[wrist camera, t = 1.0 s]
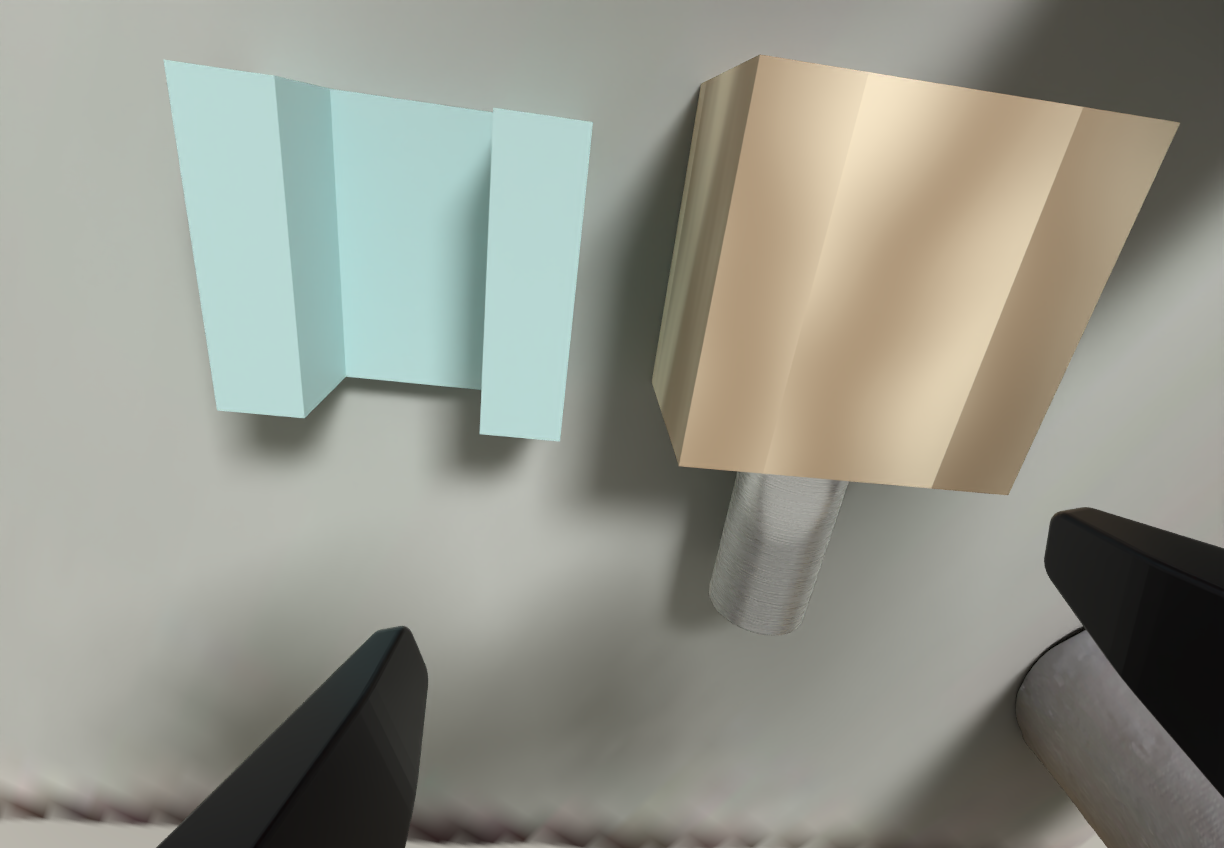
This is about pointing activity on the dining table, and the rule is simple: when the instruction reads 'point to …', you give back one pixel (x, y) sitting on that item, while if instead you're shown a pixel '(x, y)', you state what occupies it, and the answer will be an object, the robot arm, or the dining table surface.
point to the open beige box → (886, 272)
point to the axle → (773, 549)
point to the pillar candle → (1114, 754)
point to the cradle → (379, 244)
